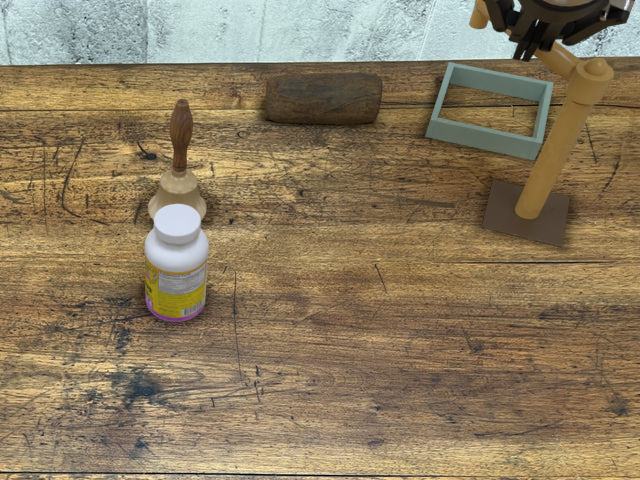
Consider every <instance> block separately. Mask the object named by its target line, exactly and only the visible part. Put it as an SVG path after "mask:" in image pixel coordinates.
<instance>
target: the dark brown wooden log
mask: <svg viewBox="0 0 640 480" xmlns="http://www.w3.org/2000/svg"><path fill="white" fill-rule="evenodd" d="M383 86H384V85H383V81H382V78H381V76H379V75H378V74H376V73H368V72H311V73H291V74H282V75H277V76H276V75H275V76H273V77H269V78H268V79H267V80H266V82H265V110H264V115H263V116H264V119H265V120H269V121H273V122H275V123H281V124H282V123H283V124H284V123H285V124H304V125H305V124H307V125H308V124H309V125H310V124H311V125H318V124H319V125H323V124H324V125H351V124H352V125H353V124H364V123H365V124H366V123H371V122H374V121H375V120H376V119H377V117H378V115H379V113H380V109H381V105H382V99H383V91H384V87H383Z"/></svg>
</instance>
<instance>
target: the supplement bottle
mask: <svg viewBox="0 0 640 480" xmlns="http://www.w3.org/2000/svg"><path fill="white" fill-rule="evenodd" d="M209 251H210V242H209V239H208V236H207V234H206V233H205V231H204V230H203V229H202V220H201V218H200V215H199V213H198V212H197V211H196V210H195V209H194V208H192V207H190V206H188V205H184V204H171V205H167V206H165V207H163V208H161V209H160V210H159V211H158V212H157V213H156V214H155V217H154V220H153V228H152V229H151V230H150V231H149V233H148V234H147V236H146V238H145V241H144V287H145V288H144V291H145V292H144V293H145V294H144V295H145V304H146V306H147V309H148V310H149V311H150V312H151V313H152V315H154V316H155V317H156V318H158V319H161V320H164V321H167V322H174V323H177V322H178V323H179V322H185V321H189V320H190V319H193V318H195V317H196V316H197V315H199V314H200V313H201V312H202V311H203V309H204V307H205V304H206V297H207V296H206V295H207V294H206V293H207V282H208V281H207V279H208V266H209V265H208V264H209Z"/></svg>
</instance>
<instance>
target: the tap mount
mask: <svg viewBox="0 0 640 480" xmlns="http://www.w3.org/2000/svg"><path fill="white" fill-rule="evenodd" d="M594 106H595V104H592V105H585V104H580V103H577V102H574V101H572V100H571V99H569V98H568V97H567V96H566V97H565V99H564V100H563V103H562V106H561V107H560V110H559V112H558V114H557V116H556V118H555V121H554V123H553V124H552V127H551V129H550V131H549V133H548V136H547V137H546V139H545V142H544V144H543V146H542V147H541V150H540V152H539V155H538V157H537V159H536V160H535V163H534V166H533V167H532V170H531V172H530V173H529V176H528V178H527V180H526V183H525V185H524V186H523V185H519V184H514V183H510V182H505V181H501V180H496V179H492V180H491V185H490V190H489V193H488V194H489V195H488V199H487V202H486V206H485V209H484V210H485V211H484V214H483V219H482V223H481V229H484V230H489V231H491V232H497V233H500V234H505V235H508V236H513V237H516V238H521V239H525V240H529V241H533V242H538V243H542V244H546V245H550V246H553V247H558V248H563V246H564V240H565V233H566V226H567V220H568V213H569V207H570V206H569V205H570V201H571V197H570V196H567V195H562V194H558V193H553V192H552V190H553V188H554V186H555V184H556V182H557V180H558V178H559V177H560V174H561V173H562V170H563V168H564V166H565V164H566V162H567V161H568V159H569V156H570V154H571V152H572V150H573V148H574V146H575V144H576V142H577V140H578V139H579V136H580V135H581V132H582V130H583V128H584V126H585V124H586V122H587V120H588V118H589V117H590V115H591V112H592V110H593V108H594Z"/></svg>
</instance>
